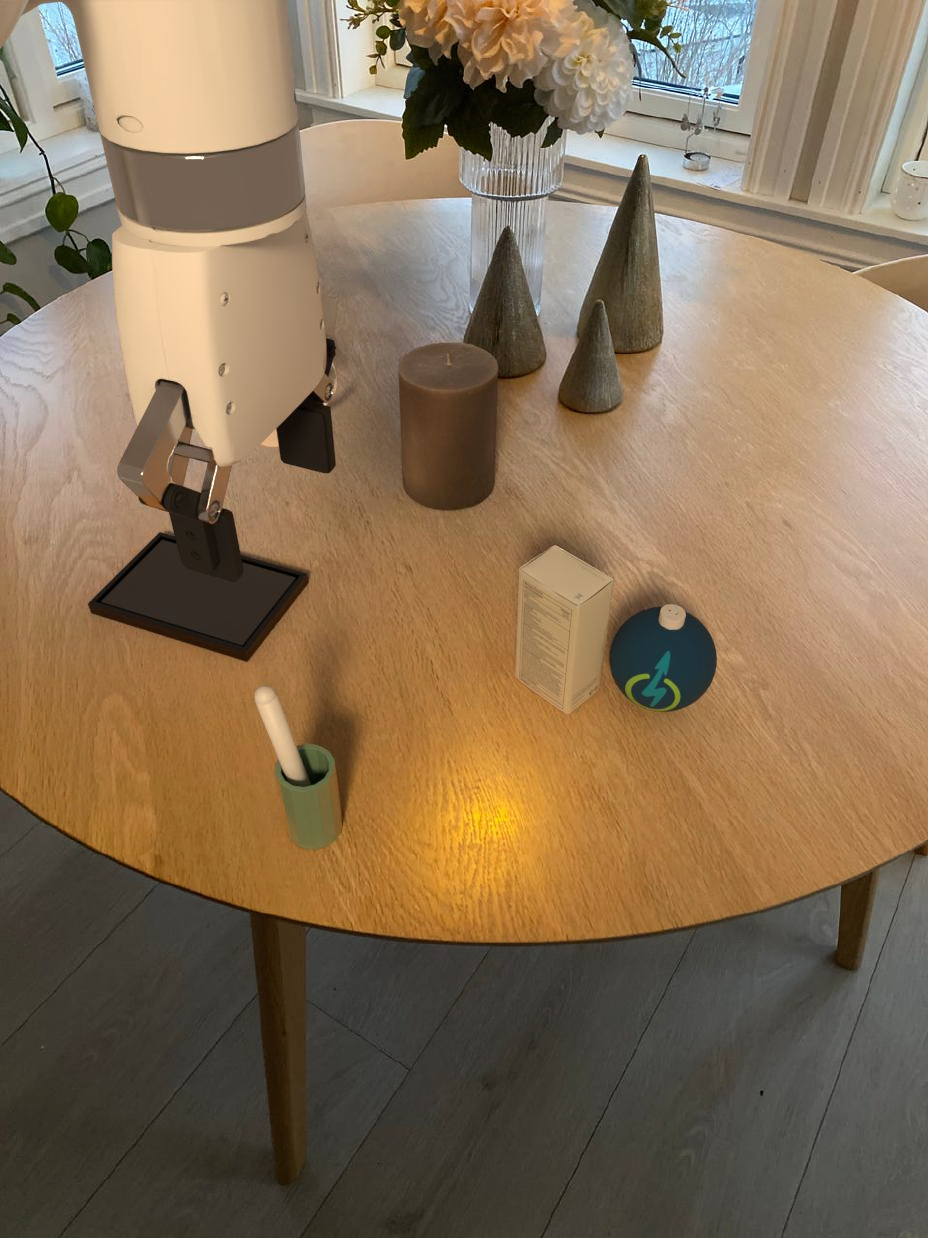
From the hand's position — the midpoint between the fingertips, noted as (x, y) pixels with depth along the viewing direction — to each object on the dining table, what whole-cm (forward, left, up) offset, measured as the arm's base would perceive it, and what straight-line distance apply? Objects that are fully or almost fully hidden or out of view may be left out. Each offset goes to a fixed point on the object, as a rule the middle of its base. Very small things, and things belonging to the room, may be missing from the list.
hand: (264, 515), depth 50 cm
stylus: (0, 0, -28) cm, 28 cm away
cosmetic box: (+12, +20, -28) cm, 37 cm away
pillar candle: (-7, +43, -28) cm, 52 cm away
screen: (-21, +18, -28) cm, 39 cm away
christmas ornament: (+20, +22, -28) cm, 41 cm away
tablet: (-21, +18, -28) cm, 40 cm away
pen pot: (0, 0, -28) cm, 28 cm away
